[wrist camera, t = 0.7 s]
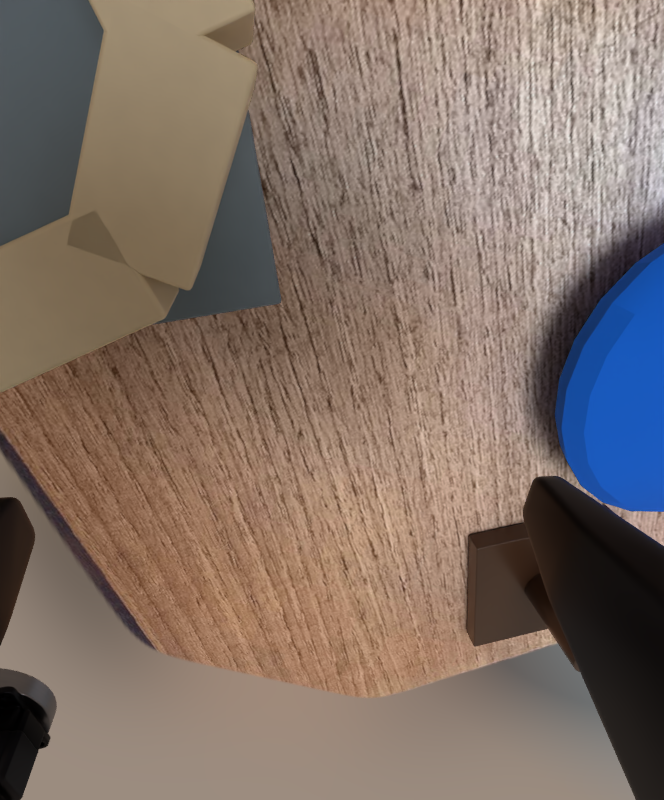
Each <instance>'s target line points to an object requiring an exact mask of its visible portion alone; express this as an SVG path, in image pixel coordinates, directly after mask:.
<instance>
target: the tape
mask: <svg viewBox="0 0 664 800" xmlns="http://www.w3.org/2000/svg"><path fill="white" fill-rule="evenodd" d="M89 2H90V4H91V6H92V8H93V10H94V12H95V14H96V16H97V18H98V20H99V22H100V24H101V26H102V28H103V30H104V33H103V38H102V43H101V48H100V53H99V59H98V64H97V69H96V74H95V80H94V85H93V90H92V95H91V101H90V106H89V111H88V116H87V121H86V127H85V132H84V137H83V142H82V148H81V153H80V158H79V163H78V169H77V174H76V179H75V184H74V189H73V195H72V200H71V205H70V210H69V215H67V216H65V217H62V218H60V219H58V220H56V221H54V222H52V223H49V224H47V225H45V226H43V227H41V228H39V229H36V230H34V231H32V232H30V233H28V234H26V235H23V236H21V237H19V238H17V239H15V240H13V241H10V242H8V243H6V244H4V245H2V246H0V393H1V392H4V391H6V390H8V389H10V388H12V387H15V386H17V385H19V384H21V383H23V382H26V381H28V380H30V379H32V378H35V377H37V376H39V375H41V374H43V373H46V372H48V371H50V370H52V369H54V368H57V367H59V366H61V365H63V364H66V363H68V362H70V361H72V360H74V359H77V358H79V357H81V356H83V355H85V354H88V353H90V352H92V351H94V350H97V349H99V348H101V347H103V346H105V345H108V344H110V343H112V342H114V341H116V340H119V339H121V338H123V337H125V336H127V335H130V334H132V333H134V332H136V331H139V330H141V329H143V328H145V327H147V326H150V325H152V324H154V323H156V322H158V321H161V320H163V319H164V318H165V317H166V316H167V314H168V312H169V310H170V308H171V306H172V304H173V302H174V300H175V298H176V296H177V294H178V292H179V288H181V289H184V290H190V289H191V288H192V287H193V284H194V282H195V279H196V277H197V274H198V272H199V270H200V267H201V264H202V261H203V257H204V254H205V251H206V247H207V244H208V241H209V237H210V234H211V231H212V228H213V224H214V221H215V218H216V214H217V211H218V208H219V204H220V201H221V198H222V194H223V191H224V188H225V185H226V181H227V178H228V175H229V171H230V168H231V165H232V161H233V158H234V155H235V151H236V148H237V145H238V142H239V138H240V135H241V132H242V128H243V125H244V122H245V118H246V115H247V112H248V108H249V105H250V102H251V99H252V95H253V92H254V89H255V82H256V76H257V64H256V63H255V62H254V61H253V60H251V59H249V58H247V57H245V56H243V55H241V54H239V53H238V52H236V51H238V50H240V49H242V48H244V47H246V46H248V45H250V44H251V43H252V42H253V31H254V19H255V5H254V2H253V0H89Z"/></svg>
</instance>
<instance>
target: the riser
mask: <svg viewBox="0 0 664 800" xmlns="http://www.w3.org/2000/svg"><path fill="white" fill-rule="evenodd" d="M103 33H104V30H103V28H102V26H101V24H100V22H99V20H98V18H97V16H96V14H95V12H94V10H93V8H92V6H91V4H90V2H89V0H0V246H2V245H4V244H6V243H8V242H10V241H13V240H15V239H17V238H19V237H21V236H23V235H26V234H28V233H30V232H32V231H34V230H36V229H39V228H41V227H43V226H45V225H47V224H49V223H52V222H54V221H56V220H58V219H60V218H62V217H65V216H67V215H69V210H70V205H71V200H72V195H73V189H74V184H75V179H76V174H77V169H78V163H79V158H80V153H81V148H82V142H83V137H84V132H85V127H86V121H87V116H88V111H89V106H90V101H91V95H92V90H93V85H94V80H95V74H96V69H97V64H98V59H99V53H100V48H101V43H102V38H103ZM236 52H238V51H236ZM238 53H239V52H238ZM279 303H281V295H280V289H279V283H278V277H277V272H276V266H275V260H274V254H273V248H272V243H271V237H270V231H269V225H268V220H267V214H266V208H265V202H264V196H263V191H262V185H261V179H260V173H259V167H258V162H257V156H256V150H255V144H254V138H253V133H252V127H251V121H250V115H249V110H248V112H247V115H246V118H245V122H244V125H243V128H242V132H241V135H240V138H239V142H238V145H237V148H236V151H235V155H234V158H233V161H232V165H231V168H230V171H229V175H228V178H227V181H226V185H225V188H224V191H223V194H222V198H221V201H220V204H219V208H218V211H217V214H216V218H215V221H214V224H213V228H212V231H211V234H210V237H209V241H208V244H207V247H206V251H205V254H204V257H203V261H202V264H201V267H200V270H199V272H198V274H197V277H196V279H195V282H194V284H193V287H192V288H191V289H190V290H184V289H181V288H179V292H178V294H177V296H176V298H175V300H174V302H173V304H172V306H171V308H170V310H169V312H168V314H167V316H166V317H165V318H164V319H163V320H161V321H158V322H156V323H154V324H160V323H166V322H172V321H178V320H184V319H190V318H196V317H202V316H208V315H214V314H220V313H226V312H232V311H238V310H245V309H251V308H257V307H263V306H269V305H275V304H279ZM154 324H152V325H154Z"/></svg>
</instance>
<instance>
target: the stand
mask: <svg viewBox="0 0 664 800" xmlns="http://www.w3.org/2000/svg"><path fill="white" fill-rule="evenodd" d="M603 506H604V507H606V508H607V509H609V508H608V507H607V506H606V505H603ZM609 510H610V509H609ZM610 511H611V510H610ZM612 512H613V511H612ZM613 513H614V512H613ZM545 629H549V631H550V632H551V634H552V635H553V637H554V638H555V640H556V641H557V643H558V644H559V646H560V647H561V649H562V650H563V652H564V653H565V655H566V656H567V658H568V659H569V661H570V662H571V664H572V665H573V667H574V668H575V669H576V670H577V671H579V672H580V670H579V668H578V665H577V663H576V661H575V659H574V656H573V654H572V652H571V649H570V647H569V645H568V642H567V640H566V638H565V636H564V633H563V631H562V629H561V626H560V624H559V622H558V619H557V617H556V615H555V613H554V610H553V608H552V605H551V603H550V600H549V598H548V595H547V592H546V589H545V586H544V583H543V580H542V577H541V574H540V570H539V567H538V564H537V561H536V558H535V554H534V551H533V548H532V545H531V542H530V539H529V535H528V532H527V529H526V526H525V523H522V524H517V525H513V526H508V527H504V528H499V529H495V530H490V531H486V532H481V533H477V534H472V535H469V558H468V609H467V633H468V635H469V637H470V639H471V641H472V643H473V645H474V646H479V645H483V644H487V643H492V642H496V641H500V640H504V639H508V638H512V637H516V636H520V635H524V634H528V633H532V632H536V631H540V630H545Z"/></svg>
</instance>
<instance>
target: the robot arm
mask: <svg viewBox="0 0 664 800" xmlns="http://www.w3.org/2000/svg"><path fill="white" fill-rule="evenodd" d="M523 518H524V523H525V526H526V529H527V532H528V535H529V539H530V542H531V545H532V548H533V551H534V554H535V558H536V561H537V564H538V567H539V570H540V574H541V577H542V580H543V583H544V586H545V589H546V592H547V595H548V598H549V600H550V603H551V605H552V608H553V610H554V613H555V615H556V617H557V619H558V622H559V624H560V626H561V629H562V631H563V633H564V636H565V638H566V640H567V642H568V645H569V647H570V649H571V652H572V654H573V656H574V659H575V661H576V663H577V665H578V668H579V670H580V672H581V674H582V677H583V679H584V681H585V684H586V686H587V688H588V690H589V693H590V695H591V698H592V700H593V702H594V704H595V707H596V709H597V711H598V714H599V716H600V718H601V721H602V723H603V725H604V727H605V730H606V732H607V734H608V737H609V739H610V741H611V743H612V746H613V748H614V750H615V753H616V755H617V757H618V760H619V762H620V764H621V766H622V769H623V771H624V773H625V776H626V778H627V780H628V783H629V785H630V787H631V789H632V792H633V794H634V796H635V799H636V800H664V546H663V545H661V544H660V543H658V542H657V541H655V540H654V539H652V538H651V537H649V536H648V535H646V534H645V533H643V532H642V531H640V530H639V529H637V528H636V527H634V526H633V525H631V524H630V523H628V522H627V521H625V520H624V519H622V518H621V517H619V516H618V515H616V514H615V513H613V512H612V511H610V510H609V509H607V508H606V507H604V506H603V505H601V504H600V503H598V502H597V501H595V500H594V499H593V498H591V497H590V496H588V495H587V494H585V493H584V492H582V491H581V490H579V489H578V488H576V487H575V486H573V485H572V484H570V483H569V482H567V481H566V480H564V479H563V478H561V477H558V476H542V477H536V478H535V479H534V480H533V482H532V485H531V488H530V490H529V493H528V496H527V499H526V502H525V505H524V508H523ZM34 541H35V532H34V529H33V526H32V524H31V522H30V520H29V518H28V516H27V514H26V512H25V510H24V508H23V506H22V504H21V502H20V501H19V500H18V499H16V498H13V497H5V498H0V645H1V642H2V640H3V638H4V635H5V632H6V630H7V627H8V625H9V622H10V619H11V616H12V613H13V610H14V606H15V603H16V600H17V596H18V593H19V590H20V587H21V584H22V581H23V578H24V574H25V571H26V568H27V565H28V562H29V558H30V555H31V552H32V549H33V545H34ZM49 741H50V735H49V734H48V733H47V731H46V730H45V728H44V727H43V726H42V724H41V723H40V721H39V720H38V719H37V717H36V716H35V714H34V713H33V712H32V710H31V709H30V707H29V706H28V705H27V703H26V702H25V700H24V699H23V698H22V696H21V695H20V694H19V692H18V691H17V689H16V688H14V687H11V686H6V687H1V688H0V800H20V799H21V798H22V796H23V793H24V790H25V788H26V785H27V782H28V779H29V776H30V773H31V770H32V767H33V765H34V761H35V759H36V756H37V753H38V750H39V749H42V748H45V747H47V746H48V744H49Z"/></svg>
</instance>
